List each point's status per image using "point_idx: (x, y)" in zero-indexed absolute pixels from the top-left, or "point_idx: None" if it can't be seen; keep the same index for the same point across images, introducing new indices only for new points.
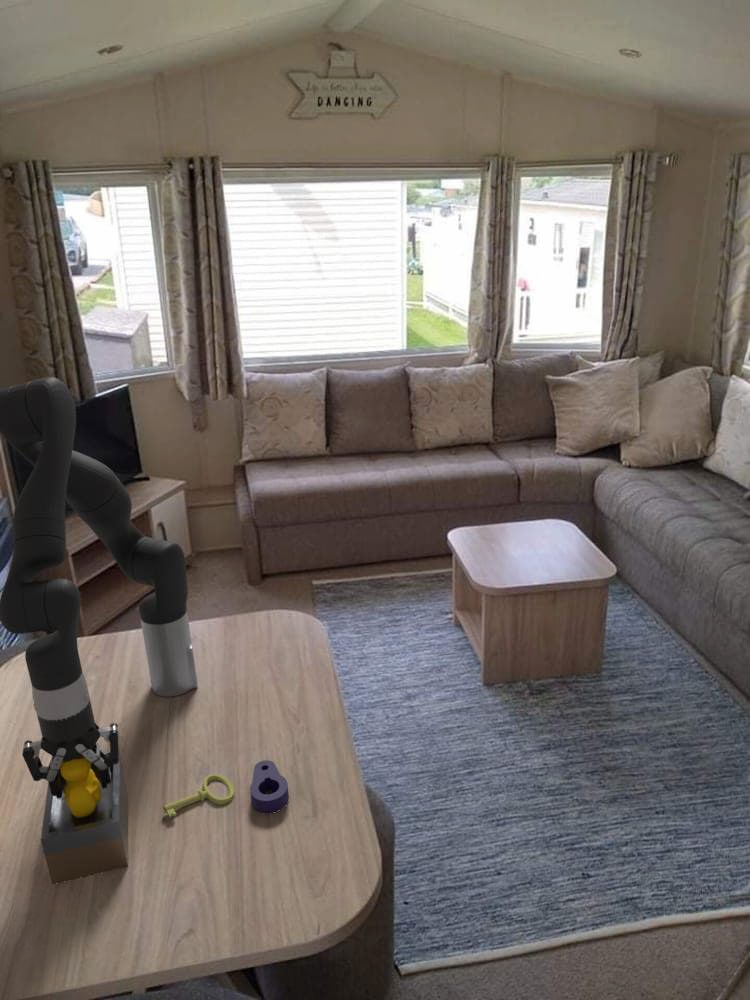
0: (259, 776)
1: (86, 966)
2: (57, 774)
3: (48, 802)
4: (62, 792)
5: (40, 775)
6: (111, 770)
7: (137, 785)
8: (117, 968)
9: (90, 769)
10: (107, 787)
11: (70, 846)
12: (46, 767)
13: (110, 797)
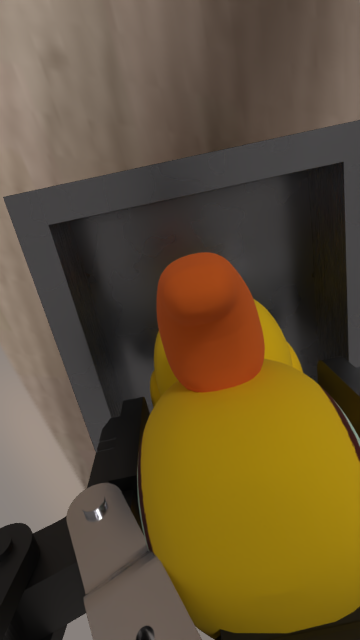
0: None
1: None
2: None
3: (100, 431)
4: (148, 410)
5: (59, 636)
6: (288, 178)
7: (297, 120)
8: None
9: (286, 363)
10: (283, 284)
11: None
12: (67, 574)
13: (299, 334)
